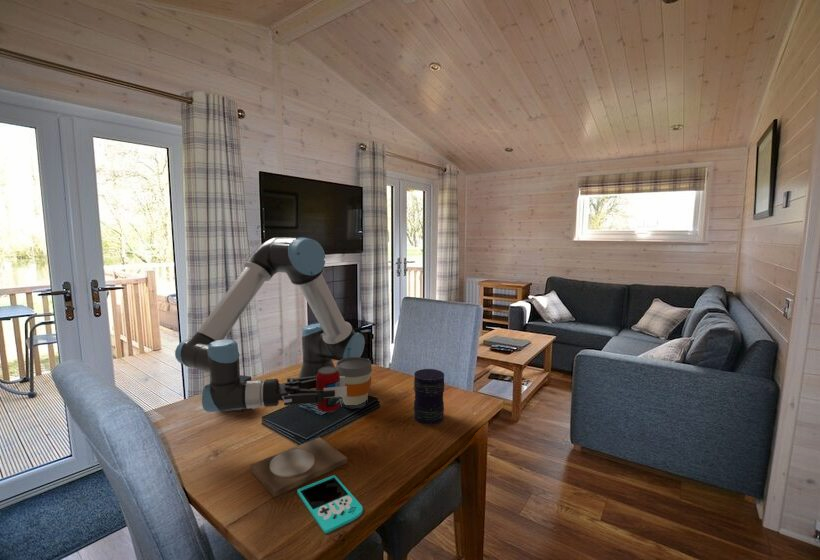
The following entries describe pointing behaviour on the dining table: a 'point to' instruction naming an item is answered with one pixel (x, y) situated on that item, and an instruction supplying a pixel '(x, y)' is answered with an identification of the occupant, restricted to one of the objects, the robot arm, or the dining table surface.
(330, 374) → the beverage can
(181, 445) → the dining table surface
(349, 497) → the handheld game console
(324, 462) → the drinks board
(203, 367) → the robot arm
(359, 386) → the reusable coffee cup
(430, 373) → the dark blue cylinder
